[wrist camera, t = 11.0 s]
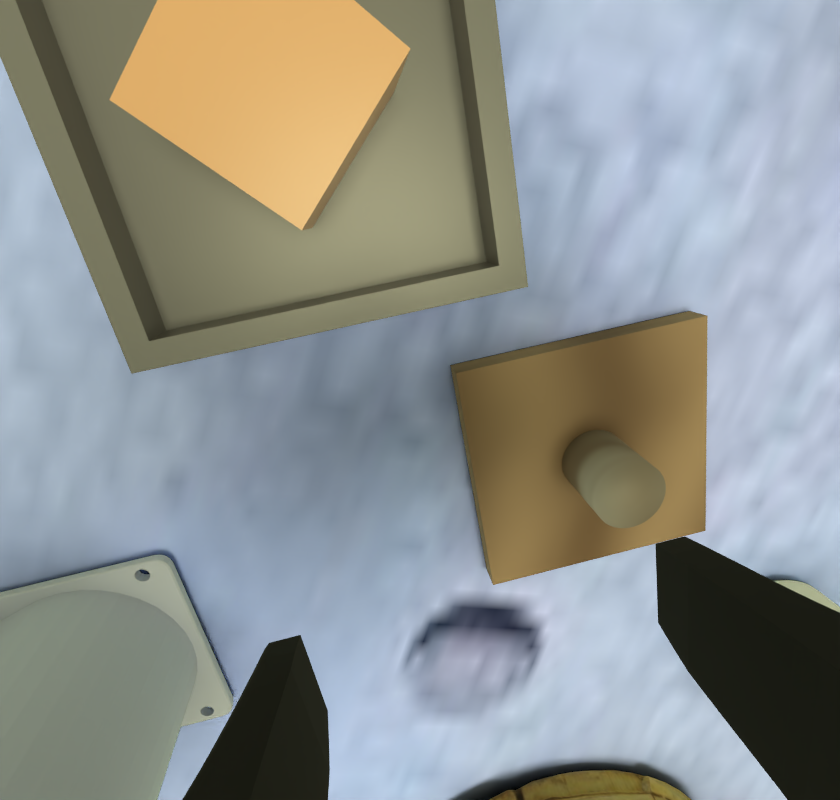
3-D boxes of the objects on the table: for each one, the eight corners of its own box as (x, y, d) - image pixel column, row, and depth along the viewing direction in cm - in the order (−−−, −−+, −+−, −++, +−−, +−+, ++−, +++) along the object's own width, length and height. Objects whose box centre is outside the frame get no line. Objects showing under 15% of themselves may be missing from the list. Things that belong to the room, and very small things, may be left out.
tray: (154, 357, 17) (131, 373, 15) (-30, -112, 12) (-92, -166, 11) (509, 279, 17) (527, 286, 16) (449, -186, 13) (466, -250, 11)
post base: (486, 568, 21) (514, 636, 18) (450, 365, 18) (475, 399, 15) (690, 517, 22) (754, 573, 18) (689, 311, 19) (767, 331, 15)
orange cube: (170, 131, 14) (109, 99, 11) (251, -25, 13) (215, -120, 10) (312, 227, 16) (302, 230, 12) (394, 92, 15) (410, 48, 11)
